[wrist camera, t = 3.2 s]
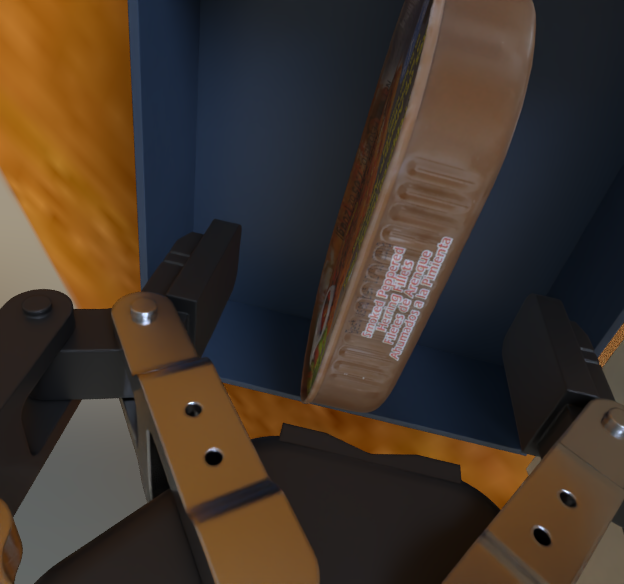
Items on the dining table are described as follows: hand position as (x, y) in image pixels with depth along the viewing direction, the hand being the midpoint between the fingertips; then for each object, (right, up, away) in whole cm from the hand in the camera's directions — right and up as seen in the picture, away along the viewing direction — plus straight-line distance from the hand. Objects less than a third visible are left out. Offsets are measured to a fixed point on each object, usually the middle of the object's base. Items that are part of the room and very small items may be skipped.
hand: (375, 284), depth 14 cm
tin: (+1, +5, +6) cm, 8 cm away
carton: (+1, +5, +6) cm, 8 cm away
